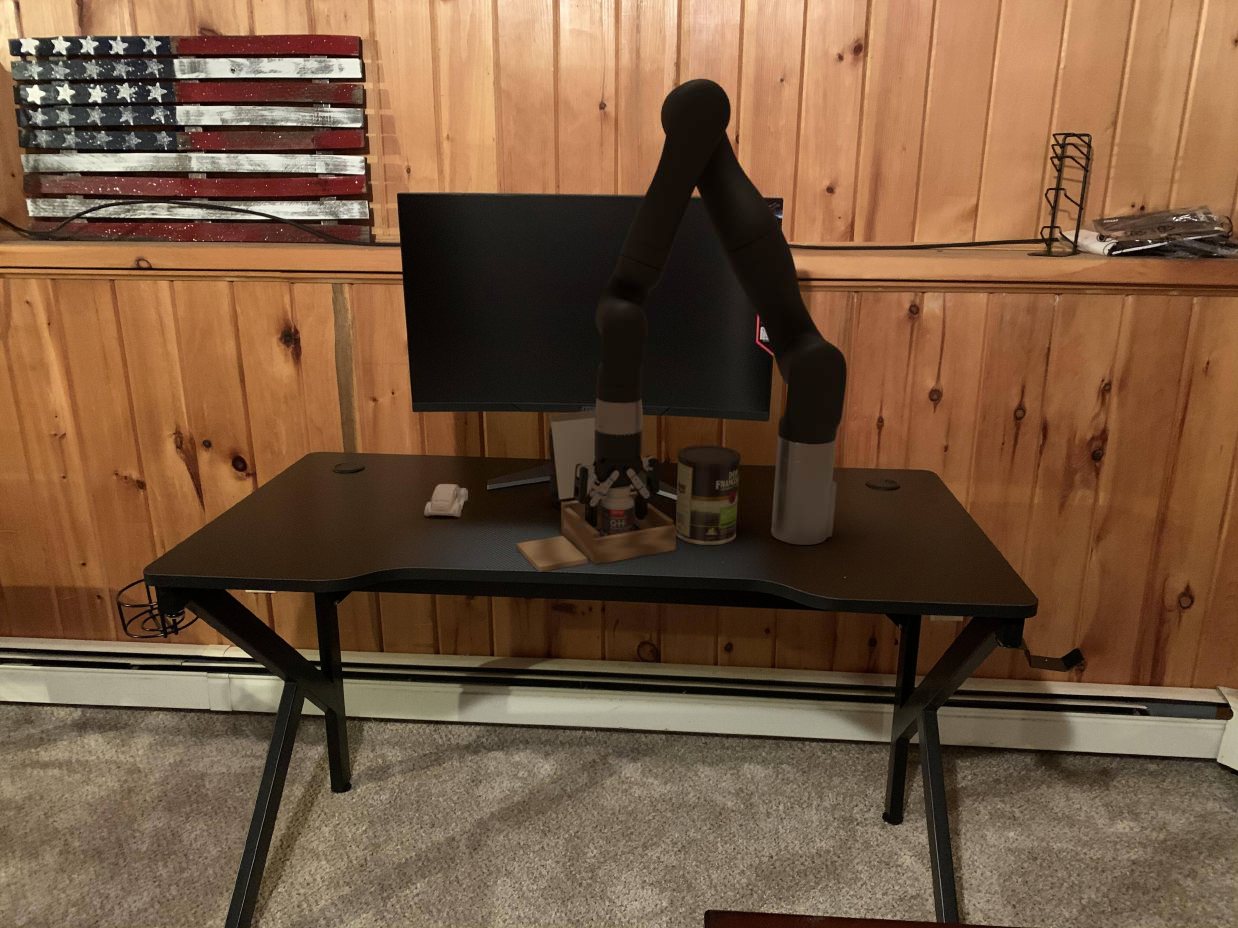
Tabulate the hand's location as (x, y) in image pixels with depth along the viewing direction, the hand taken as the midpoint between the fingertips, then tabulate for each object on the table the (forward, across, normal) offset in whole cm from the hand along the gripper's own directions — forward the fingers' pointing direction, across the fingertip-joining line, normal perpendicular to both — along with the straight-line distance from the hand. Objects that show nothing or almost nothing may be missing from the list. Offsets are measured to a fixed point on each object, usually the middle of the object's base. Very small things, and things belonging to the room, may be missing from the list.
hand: (616, 521), depth 150 cm
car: (+4, -21, +26) cm, 34 cm away
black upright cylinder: (+4, 0, +19) cm, 19 cm away
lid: (-9, 0, +9) cm, 13 cm away
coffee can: (+4, +15, -3) cm, 16 cm away
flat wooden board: (+4, -12, -1) cm, 12 cm away
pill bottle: (+4, 0, 0) cm, 4 cm away
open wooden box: (+3, 0, 0) cm, 3 cm away
